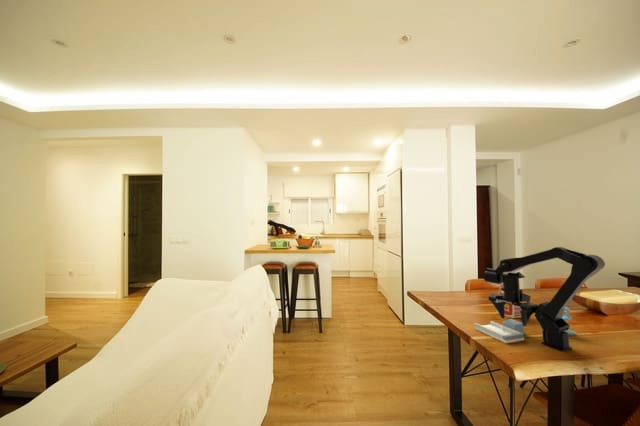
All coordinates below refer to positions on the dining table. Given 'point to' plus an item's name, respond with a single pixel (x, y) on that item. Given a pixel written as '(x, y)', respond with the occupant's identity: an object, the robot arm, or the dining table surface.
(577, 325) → the dining table surface
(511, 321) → the block
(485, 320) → the dining table surface
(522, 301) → the robot arm
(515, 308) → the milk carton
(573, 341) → the dining table surface
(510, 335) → the board
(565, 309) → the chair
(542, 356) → the dining table surface
